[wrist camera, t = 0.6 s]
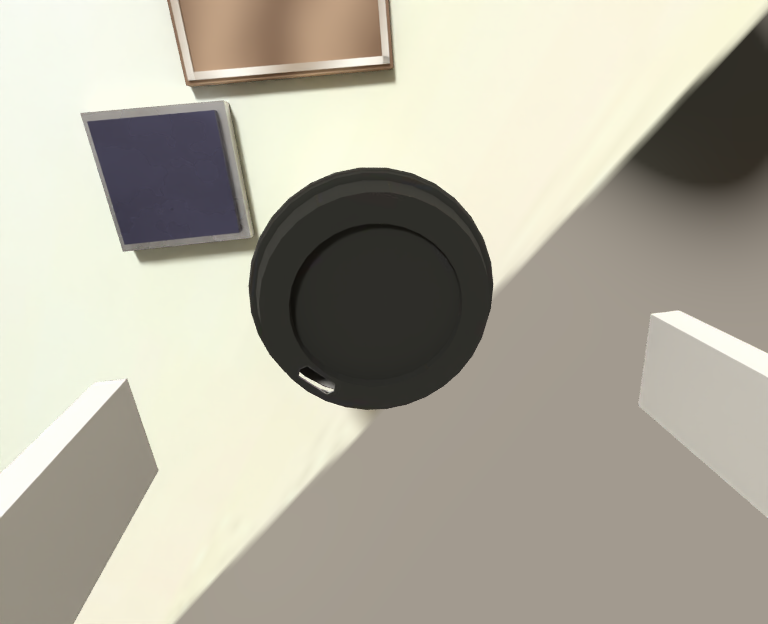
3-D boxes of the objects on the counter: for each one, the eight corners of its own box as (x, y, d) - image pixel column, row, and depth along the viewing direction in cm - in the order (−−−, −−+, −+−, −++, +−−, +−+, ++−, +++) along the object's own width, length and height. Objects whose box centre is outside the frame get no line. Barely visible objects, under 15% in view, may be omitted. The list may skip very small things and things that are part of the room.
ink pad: (131, 247, 29) (118, 253, 27) (91, 114, 26) (74, 112, 24) (254, 234, 29) (249, 239, 28) (228, 102, 27) (220, 99, 25)
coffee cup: (459, 223, 31) (561, 289, 17) (369, 327, 33) (392, 463, 19) (347, 123, 28) (356, 101, 14) (256, 244, 30) (183, 333, 16)
